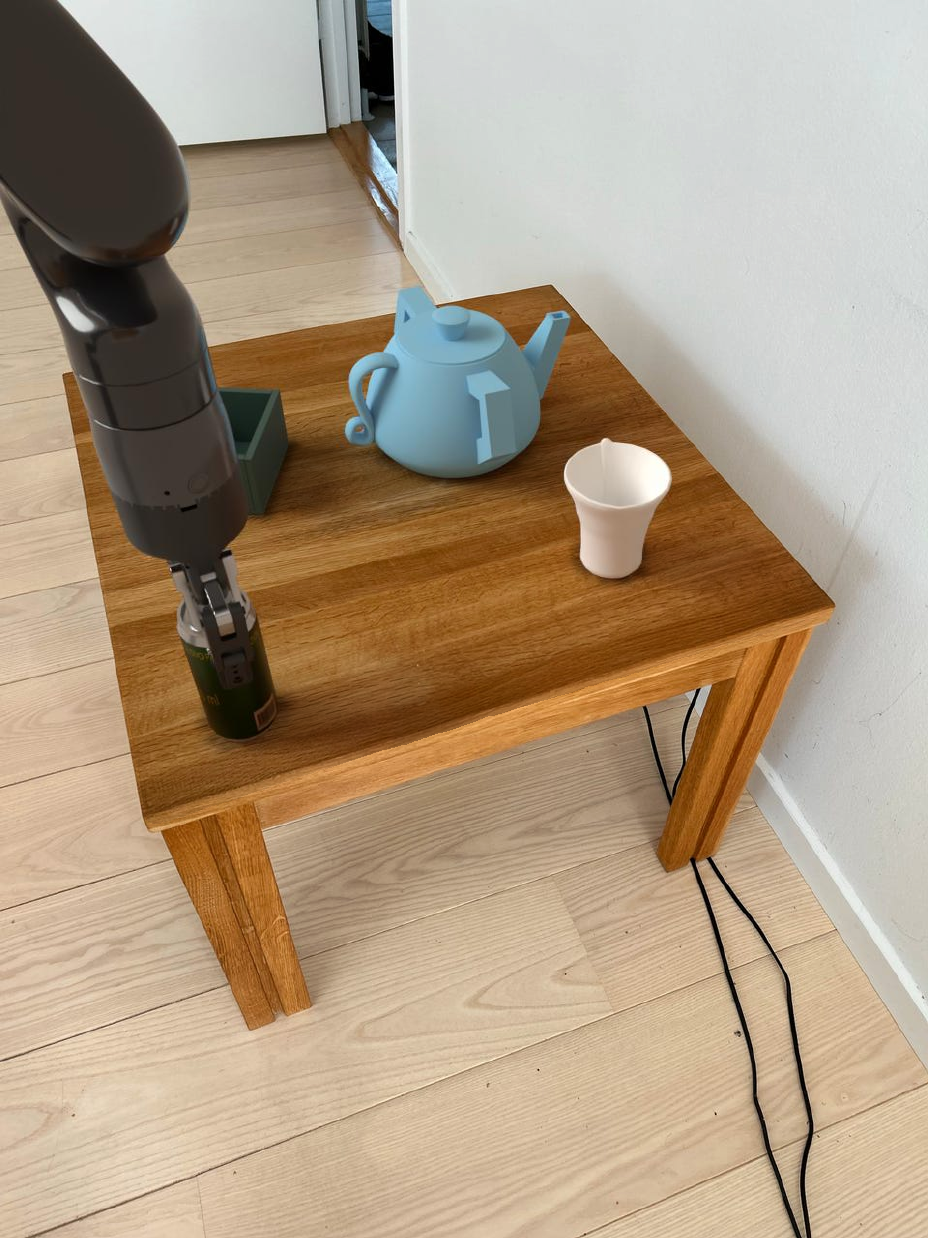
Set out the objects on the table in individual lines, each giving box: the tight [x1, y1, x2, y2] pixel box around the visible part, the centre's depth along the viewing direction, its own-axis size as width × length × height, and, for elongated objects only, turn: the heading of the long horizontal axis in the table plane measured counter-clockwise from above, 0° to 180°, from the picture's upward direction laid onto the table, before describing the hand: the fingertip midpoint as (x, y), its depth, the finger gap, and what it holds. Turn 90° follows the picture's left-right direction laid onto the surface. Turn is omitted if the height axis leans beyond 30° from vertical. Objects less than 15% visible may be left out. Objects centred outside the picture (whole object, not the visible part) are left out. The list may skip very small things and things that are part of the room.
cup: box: [563, 437, 673, 580], centre depth 80 cm, size 9×9×10 cm
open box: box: [217, 386, 290, 516], centre depth 90 cm, size 11×11×6 cm
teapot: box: [344, 284, 572, 479], centre depth 92 cm, size 19×19×14 cm
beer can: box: [176, 587, 279, 743], centre depth 67 cm, size 5×5×12 cm
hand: (226, 653), depth 66 cm, fingers closed on beer can, 5 cm apart
